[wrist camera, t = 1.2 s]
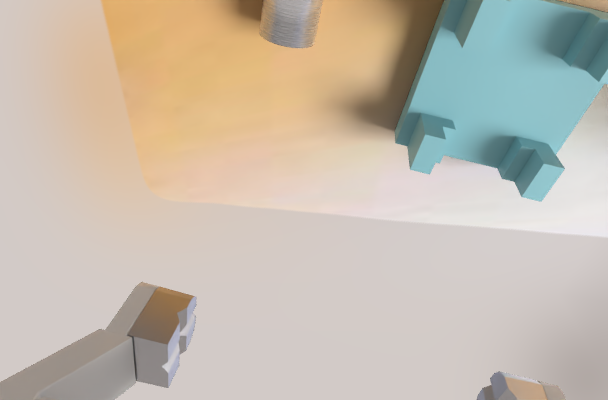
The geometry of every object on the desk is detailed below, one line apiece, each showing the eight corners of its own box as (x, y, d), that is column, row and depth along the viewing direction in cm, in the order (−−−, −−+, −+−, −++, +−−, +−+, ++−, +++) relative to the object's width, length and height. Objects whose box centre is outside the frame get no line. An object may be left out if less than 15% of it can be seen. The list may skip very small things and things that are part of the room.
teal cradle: (453, -26, 27) (468, -10, 23) (628, 17, 27) (676, 42, 23) (394, 131, 34) (396, 166, 30) (532, 165, 34) (554, 204, 30)
